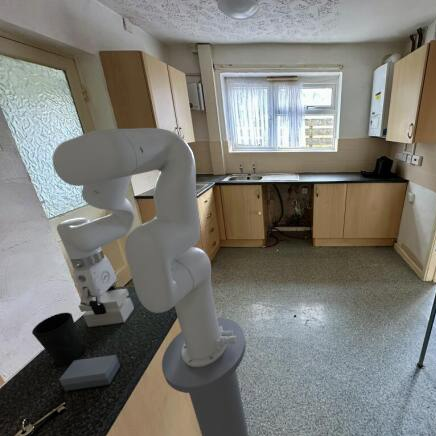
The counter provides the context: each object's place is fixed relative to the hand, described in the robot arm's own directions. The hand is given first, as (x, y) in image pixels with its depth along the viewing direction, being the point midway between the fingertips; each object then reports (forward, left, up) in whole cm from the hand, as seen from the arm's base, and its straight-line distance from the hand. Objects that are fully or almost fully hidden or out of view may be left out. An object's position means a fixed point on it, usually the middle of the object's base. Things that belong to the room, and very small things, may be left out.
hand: (107, 305), depth 78 cm
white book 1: (0, 0, -3) cm, 3 cm away
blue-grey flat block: (-7, +22, -3) cm, 23 cm away
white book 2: (0, 0, -5) cm, 5 cm away
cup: (+4, +14, -5) cm, 15 cm away
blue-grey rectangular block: (-7, +22, -5) cm, 24 cm away
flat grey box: (0, 0, +1) cm, 1 cm away
